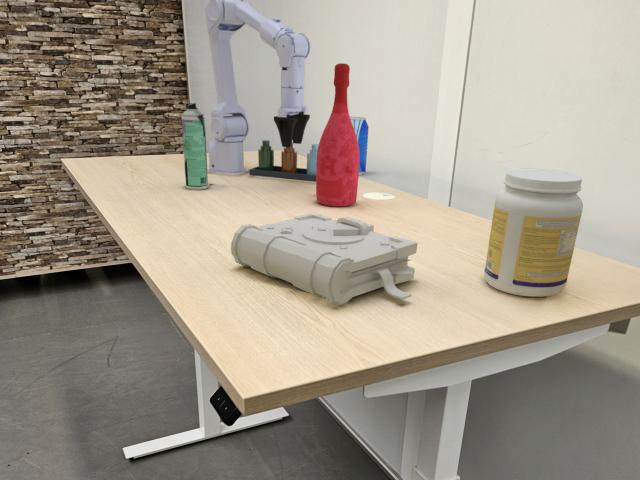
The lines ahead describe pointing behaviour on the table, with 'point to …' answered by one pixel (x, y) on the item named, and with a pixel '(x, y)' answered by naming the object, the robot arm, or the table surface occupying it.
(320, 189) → the wine bottle
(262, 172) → the tray
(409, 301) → the table surface
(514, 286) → the supplement tub
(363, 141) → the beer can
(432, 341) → the table surface
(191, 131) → the spray can
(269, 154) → the bottle row
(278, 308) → the table surface
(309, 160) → the blue bottle
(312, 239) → the book
